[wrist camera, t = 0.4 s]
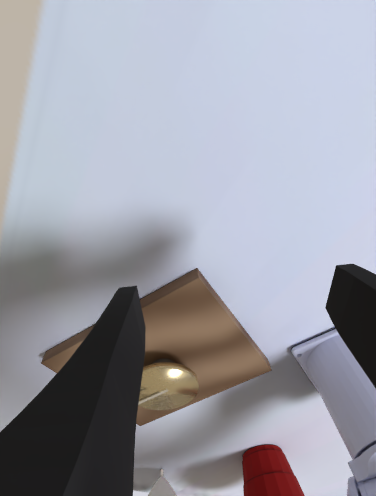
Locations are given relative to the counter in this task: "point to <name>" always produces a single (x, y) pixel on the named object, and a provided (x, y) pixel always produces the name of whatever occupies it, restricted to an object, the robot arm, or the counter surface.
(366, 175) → the counter surface
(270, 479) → the plastic cup
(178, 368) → the dial
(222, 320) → the dial board
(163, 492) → the cream vase
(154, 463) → the counter surface
